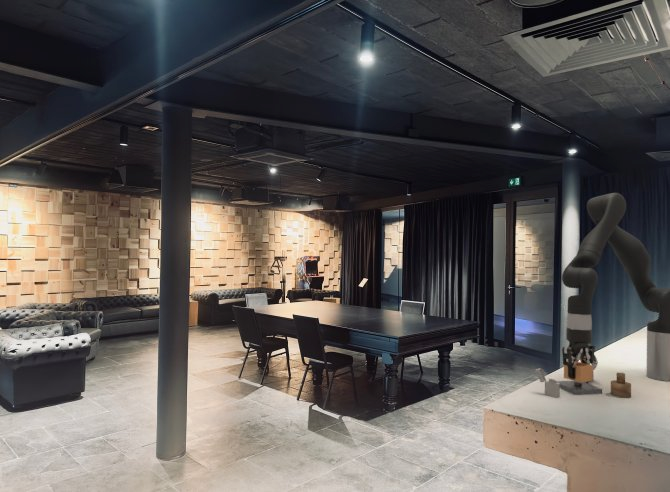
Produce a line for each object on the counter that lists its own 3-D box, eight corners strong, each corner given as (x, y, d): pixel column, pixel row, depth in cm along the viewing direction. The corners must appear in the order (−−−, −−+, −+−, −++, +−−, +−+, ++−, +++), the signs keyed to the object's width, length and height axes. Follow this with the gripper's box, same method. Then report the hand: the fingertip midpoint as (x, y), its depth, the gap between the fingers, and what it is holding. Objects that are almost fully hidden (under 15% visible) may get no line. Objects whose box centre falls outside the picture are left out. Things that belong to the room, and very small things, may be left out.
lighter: (559, 396, 145) (560, 371, 145) (558, 397, 143) (558, 372, 143) (536, 391, 149) (536, 367, 149) (534, 392, 148) (535, 368, 148)
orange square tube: (575, 375, 157) (575, 361, 157) (593, 380, 151) (593, 365, 151) (563, 377, 154) (564, 363, 154) (581, 382, 148) (581, 367, 148)
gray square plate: (581, 384, 158) (581, 370, 158) (602, 393, 148) (602, 378, 148) (554, 385, 157) (555, 371, 157) (574, 394, 147) (574, 379, 147)
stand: (621, 392, 150) (621, 371, 150) (635, 397, 145) (635, 375, 145) (606, 392, 150) (606, 371, 150) (619, 398, 144) (620, 376, 144)
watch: (594, 384, 159) (594, 352, 159) (569, 379, 165) (570, 349, 165) (599, 381, 163) (599, 350, 163) (575, 376, 169) (575, 347, 169)
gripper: (581, 324, 159) (581, 372, 159) (554, 326, 153) (554, 376, 152) (603, 327, 153) (602, 377, 152) (575, 330, 146) (574, 382, 146)
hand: (578, 377), depth 152 cm, fingers closed on orange square tube, 6 cm apart
